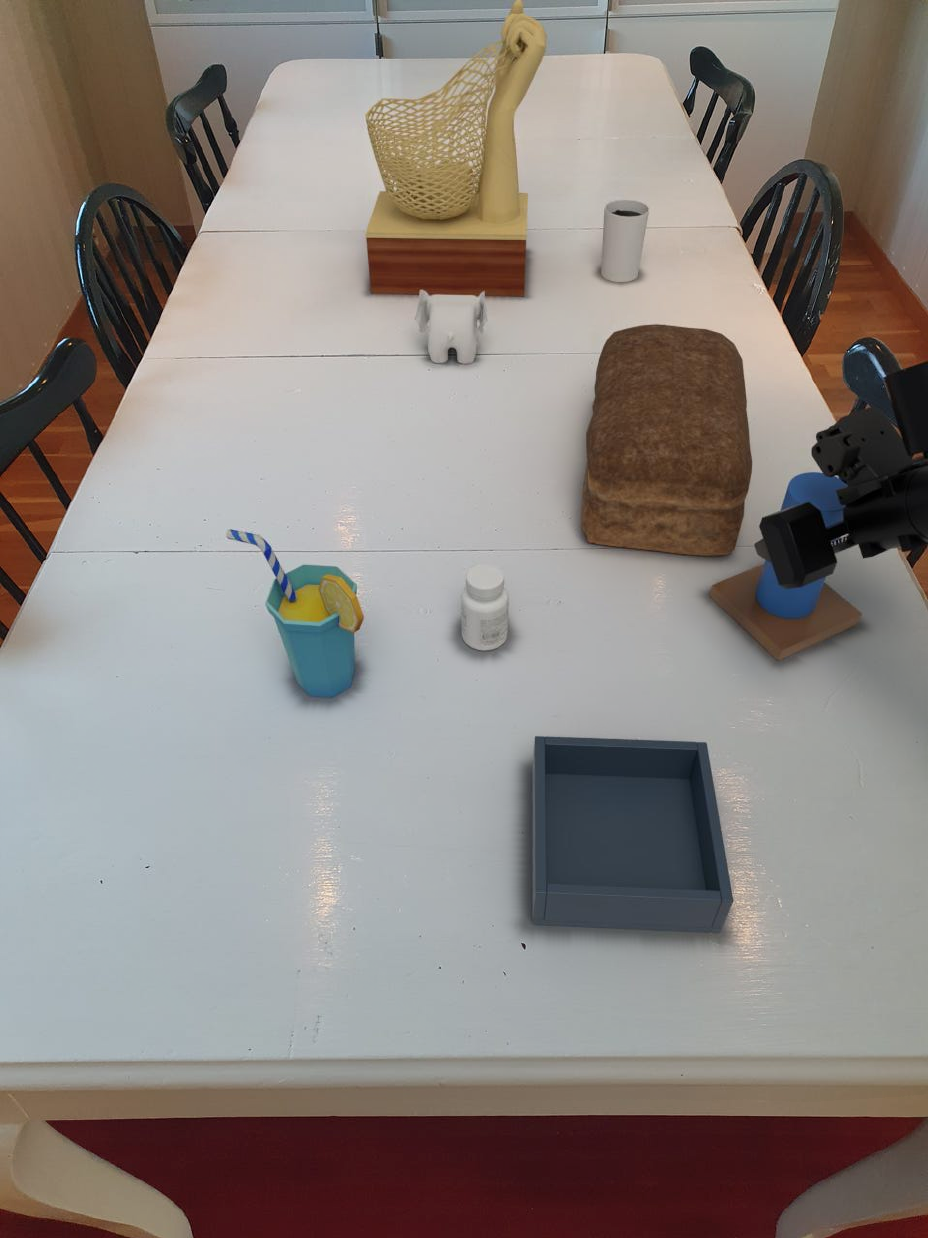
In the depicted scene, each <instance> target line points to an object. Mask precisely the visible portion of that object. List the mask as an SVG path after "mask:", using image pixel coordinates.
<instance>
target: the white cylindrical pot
mask: <svg viewBox="0 0 928 1238" xmlns="http://www.w3.org/2000/svg"><path fill="white" fill-rule="evenodd" d="M603 210H604V211H603V225H602V245H601V247H602V248H601V262H600V263H601V264H600V265H601V267H600V275H601V277H602V278H603V279H605V280H607V281H611V282H614V283H627V282H632V281H634V280H636V279H637V278H639V277H638V276H639V270H640V265H641V259H642V254H643V248H644V242H645V237H646V230H647V226H648V219H649V213H650V207H649V205H648V204H646V203H644V202H642V201H639V200H633V199H616V200H612V201H608V203H606V204H605V205H604V209H603Z"/></svg>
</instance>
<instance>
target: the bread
mask: <svg viewBox="0 0 928 1238" xmlns="http://www.w3.org/2000/svg"><path fill="white" fill-rule="evenodd" d="M744 370H745V369H744V360H743V358H742V355H741V354H740V352H739V351H738V348H737V346H736V344H735V343H734V342H733V341H731V340H730V338H728V337H727V336H725V335H724V334H723V333H721V332H717V331H714V330H710V329H707V328H696V327H687V326H679V325H670V324H659V323H656V324H654V323H653V324H643V325H636V326H632V327H627V328H624V329H623V328H622V329H620V330H617V331H616V330H615V331H613V332H612V333H611V335H609V337H608V338H607V339H606V340H605V342H604V344H603V347H602V349H601V351H600V356H599V358H598V362H597V365H596V371H595V380H594V381H595V382H594V386H593V387H594V388H593V389H594V390H593V391H594V399H593V403H592V406H591V408H592V416H591V418H590V421H589V424H588V426H587V430H586V434H585V443H586V460H587V461H586V467H585V474H584V478H583V479H584V480H583V483H582V484H583V485H582V497H581V498H582V499H581V519H580V520H581V521H580V527H581V530H582V531H583V532H584V534H585V536H586V539H587V543H590V544H596V545H600V546H609V547H618V548H628V549H636V550H637V549H638V550H645V551H655V552H663V553H671V554H678V555H689V556H704V557H705V556H706V557H709V556H713V557H714V556H724V555H726V556H727V555H730V554H731V553H733V551H735V549H736V546H737V542H738V538H739V536H740V535H739V534H740V530H741V528H742V524H743V521H744V520H743V519H744V516H745V504H746V503H745V501H746V499H747V495H748V494H749V491H750V490H749V489H750V484H751V479H752V472H753V456H752V450H751V441H750V440H751V437H750V427H749V418H748V410H747V409H748V407H747V406H748V399H747V390H746V389H747V388H746V381H745V371H744Z"/></svg>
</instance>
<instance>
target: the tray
mask: <svg viewBox="0 0 928 1238" xmlns="http://www.w3.org/2000/svg"><path fill="white" fill-rule="evenodd" d="M712 771H713V770H712V765H711V759H710V755H709V749H708V743H707V742H706V741H686V740H661V739H659V740H654V739H632V738H631V739H630V738H629V739H627V738H602V737H601V738H600V737H577V736H576V737H575V736H549V735H547V736H543V735H542V736H541V735H535V736H534V743H533V757H532V769H531V772H532V773H531V777H532V778H531V817H532V818H531V826H532V827H531V832H532V833H531V835H532V836H531V840H532V841H531V843H532V844H531V846H532V847H531V851H532V852H531V856H532V857H531V871H532V873H531V874H532V875H531V879H532V880H531V881H532V882H531V890H532V892H531V893H532V895H531V896H532V899H531V904H532V905H531V906H532V907H531V912H532V913H531V917H532V919H531V920H532V923H531V924H532V925H535V926H559V927H576V928H577V927H581V928H600V929H601V928H603V929H623V930H647V931H667V932H669V931H670V932H691V933H710V934H711V933H714V934H720V933H721V932H722V930H723V927H724V925H725V922H726V920H727V918H728V916H729V913H730V910H731V908H732V906H733V903H734V897H733V890H732V884H731V879H730V873H729V867H728V861H727V854H726V850H725V849H726V848H725V842H724V836H723V830H722V825H721V820H720V813H719V807H718V800H717V796H716V790H715V783H714V777H713V772H712Z"/></svg>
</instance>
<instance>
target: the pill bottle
mask: <svg viewBox="0 0 928 1238" xmlns="http://www.w3.org/2000/svg"><path fill="white" fill-rule="evenodd" d="M509 605H510V596H509V593H508V590H507V589H506V587H505V574H504V571H503V570H502V569H501V568H500V567H499V566H497V565H495V564H490V563H478V564H475V565H473V566H471V567H470V568H469V569H468V570H467V572H466V575H465V587H464V588H463V590H462V591H461V596H460V615H461V616H460V617H461V619H460V621H461V623H460V624H461V638H462V639H463V642H464V643H465V644H466V645H467V646H469V647H470V648H472V649H474V650H478V651H491V650H495V649H497V648H499V647H501V646H502V645H503V644H504V643H505V642H506V640H507V638H508V633H509V632H508V630H509Z"/></svg>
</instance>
